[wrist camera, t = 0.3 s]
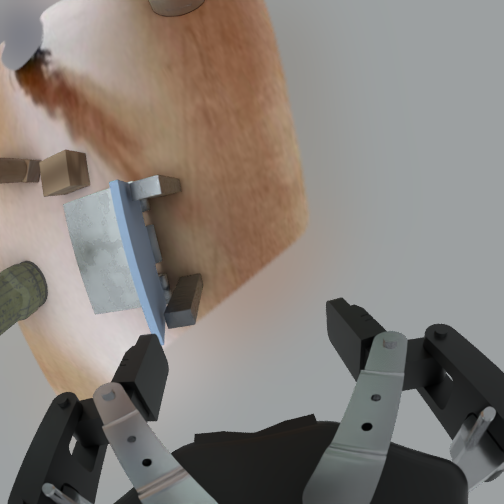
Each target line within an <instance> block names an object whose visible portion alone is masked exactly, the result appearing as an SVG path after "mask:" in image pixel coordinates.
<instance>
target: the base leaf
mask: <svg viewBox="0 0 504 504" xmlns="http://www.w3.org/2000/svg"><path fill="white" fill-rule="evenodd" d="M128 183H129V186H130V191H131V196H132V201H137V200H140V205H141V209H142V212H144V211H148V210H150V207H149V202H148V199H149V198H155V197H162V196H166V195H170V194H174V193H178V192H182V191H181V186H180V180H179V179H177V178H172V177H166V176H161V175H156V176H152V177H148V178H145V179H141V180H138V181H131V182H128ZM63 206H64V211H65V216H66V221H67V225H68V230H69V234H70V238H71V242H72V246H73V249H74V253H75V256H76V260H77V263H78V267H79V270H80V273H81V276H82V279H83V282H84V285H85V288H86V291H87V294H88V297H89V300H90V302H91V305H92V308H93V310H94V313H95V314H101V313H108V312H114V311H121V310H127V309H133V308H139V307H142V306H141V303H140V300H139V297H138V294H137V291H136V288H135V285H134V282H133V279H132V275H131V272H130V269H129V265H128V262H127V258H126V255H125V251H124V247H123V244H122V240H121V236H120V232H119V228H118V223H117V219H116V215H115V210H114V205H113V200H112V196H111V190H110V188H108V189H105V190H102V191H99V192H96V193H93V194H90V195H88V196H85V197H82V198H79V199H76V200H74V201H71V202H68V203H66V204H63ZM158 277H159V280H160V283H161V287H162V290H163V293H164V297H165V300H166V303H167V304H168V305H167V307H166V309H165V311H164V314H163V315H164V318H165V320H166V323H167V326H168V329H170V328H177V327H183V326H189V325H195V323H196V317H197V312H198V308H199V303H200V298H201V293H202V288H203V282H202V278H201V274H195V275H190V276H185V277H180V279H179V281H178V283H177V285H176V288H175V290H174V292H173V294H172V292H171V289H170V286H169V282H168V279H167V275H166V273H163V274H159V275H158Z"/></svg>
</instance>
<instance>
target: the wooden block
mask: <svg viewBox="0 0 504 504" xmlns="http://www.w3.org/2000/svg"><path fill="white" fill-rule="evenodd" d="M39 162H41V161H40V160H29V159H14V158H0V183H14V182H25V183H29V182H38V181H39V174H40V164H39Z"/></svg>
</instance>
